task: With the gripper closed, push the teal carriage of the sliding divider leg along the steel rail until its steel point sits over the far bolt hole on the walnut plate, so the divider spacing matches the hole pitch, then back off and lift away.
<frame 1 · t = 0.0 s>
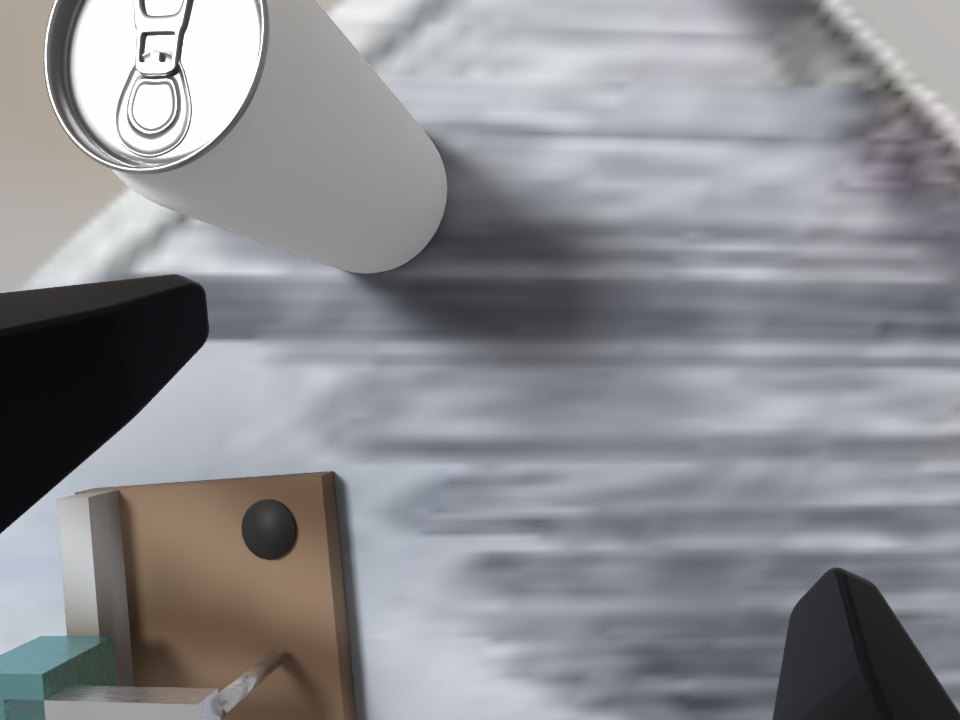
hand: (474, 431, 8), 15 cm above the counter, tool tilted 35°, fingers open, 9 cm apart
divider leg: (130, 686, 22), point 4 cm above the counter, slide at 4.0 cm
can: (376, 198, 25), on the counter
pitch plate: (220, 630, 26), on the counter
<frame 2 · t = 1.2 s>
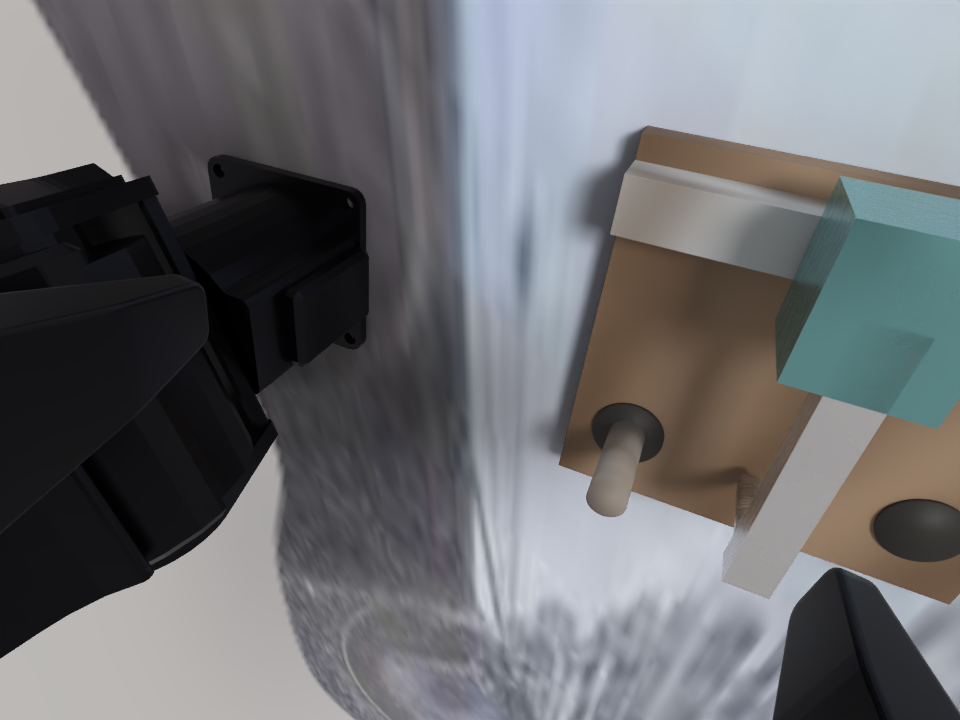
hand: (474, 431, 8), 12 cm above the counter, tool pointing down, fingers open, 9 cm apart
divider leg: (816, 403, 15), point 4 cm above the counter, slide at 4.0 cm
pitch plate: (808, 374, 18), on the counter
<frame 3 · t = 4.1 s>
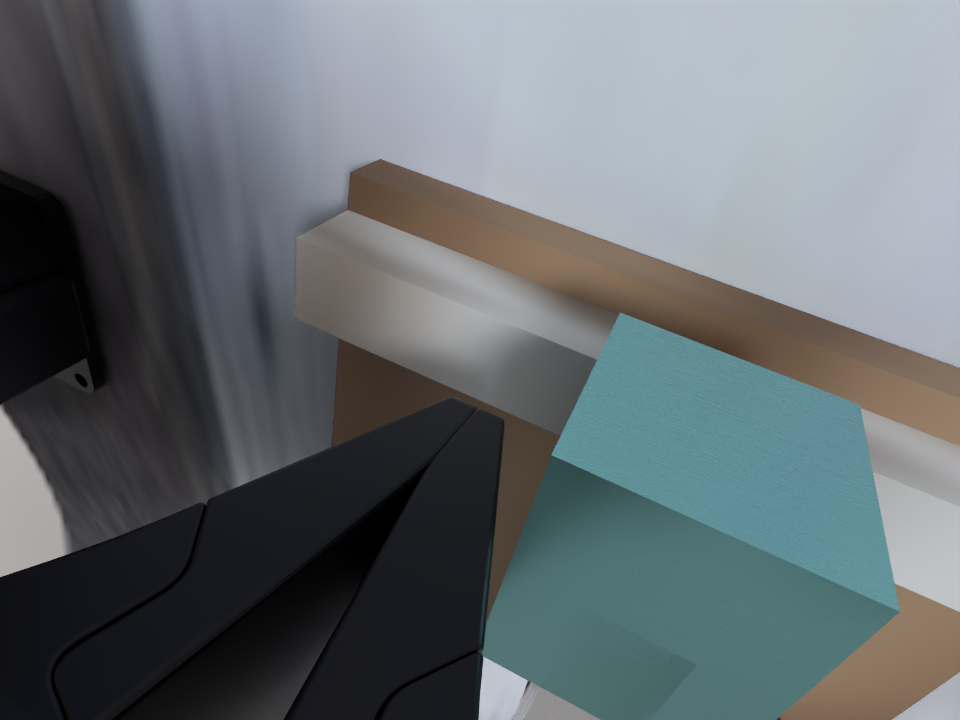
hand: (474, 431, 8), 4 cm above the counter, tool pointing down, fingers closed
divider leg: (592, 626, 10), point 4 cm above the counter, slide at 4.8 cm, touching gripper
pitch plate: (605, 512, 13), on the counter
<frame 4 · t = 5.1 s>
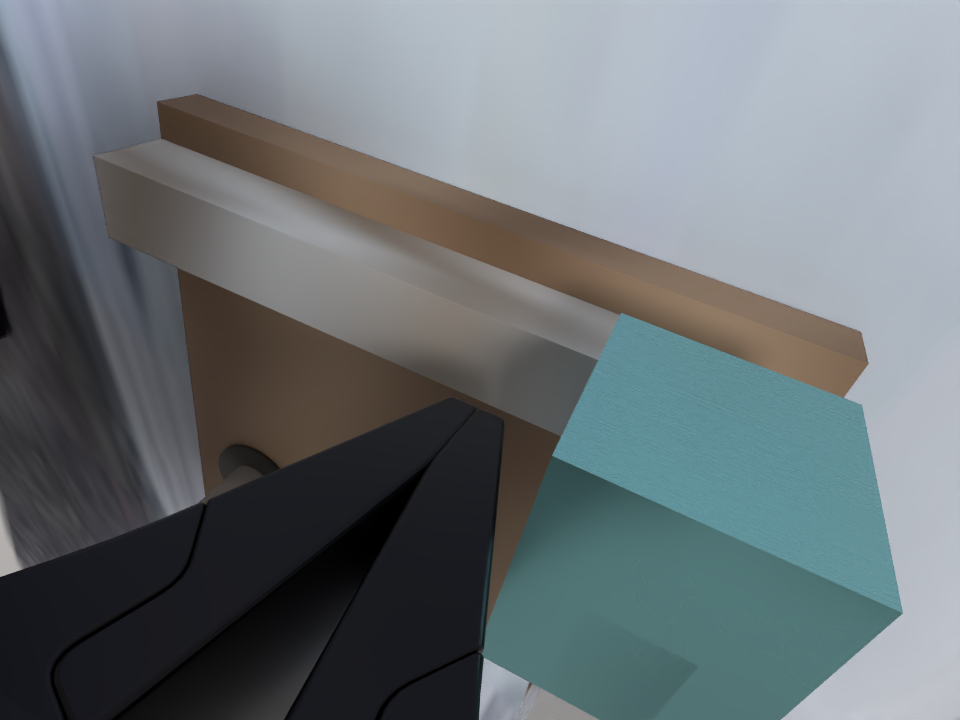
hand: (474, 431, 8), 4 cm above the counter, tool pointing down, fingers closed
divider leg: (594, 627, 10), point 4 cm above the counter, slide at 9.1 cm, touching gripper
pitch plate: (436, 434, 14), on the counter
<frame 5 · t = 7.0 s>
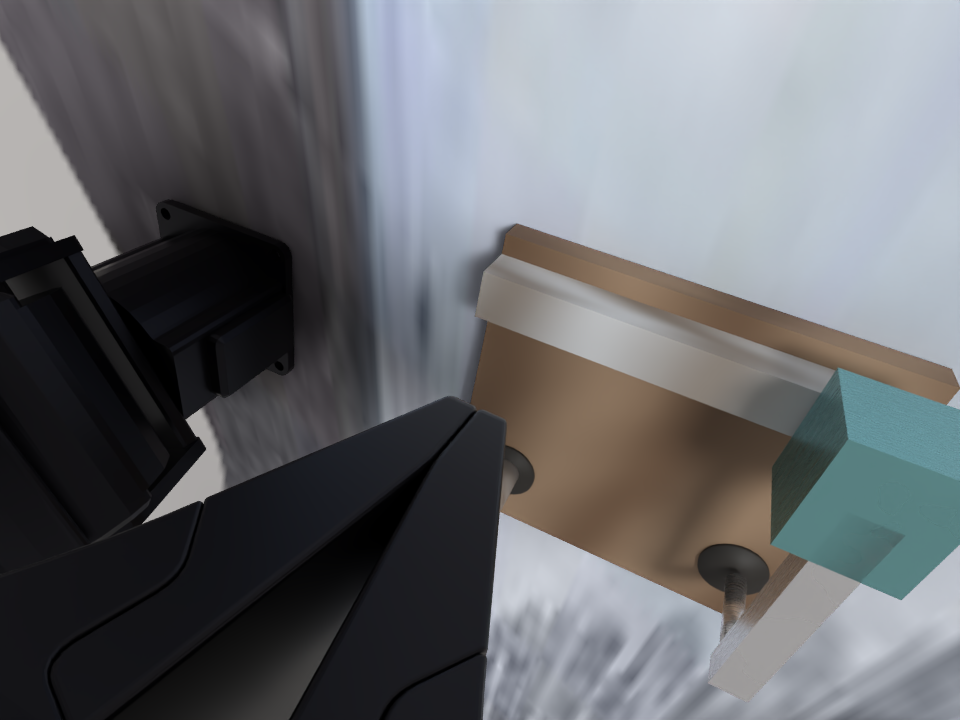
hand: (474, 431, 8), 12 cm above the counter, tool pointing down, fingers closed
divider leg: (802, 543, 17), point 4 cm above the counter, slide at 9.2 cm
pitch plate: (649, 434, 21), on the counter
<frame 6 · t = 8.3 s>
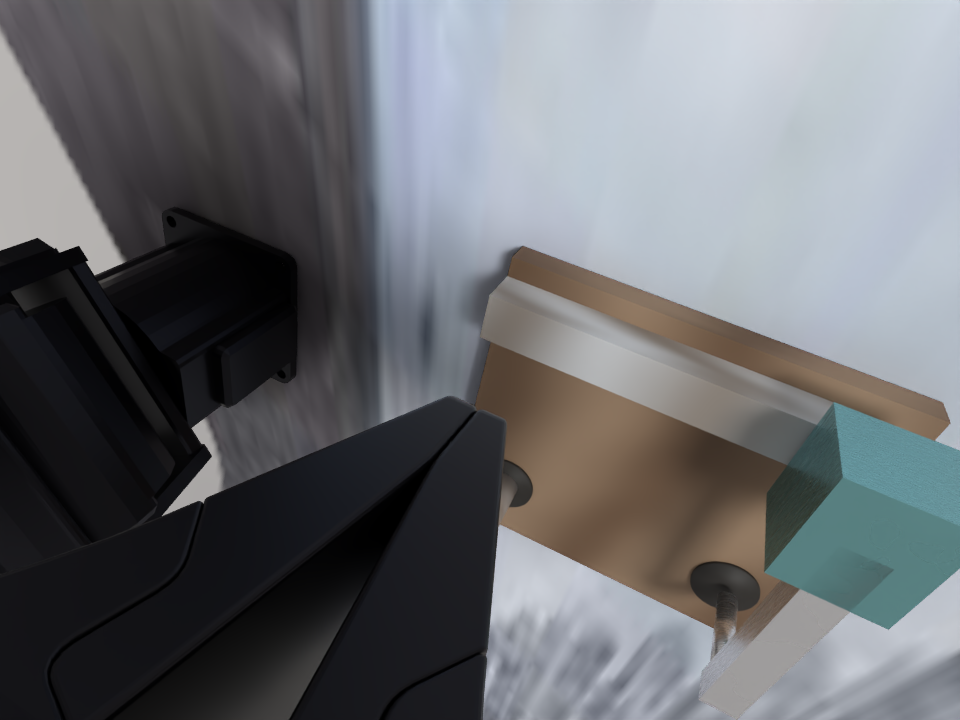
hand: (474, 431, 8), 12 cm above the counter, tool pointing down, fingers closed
divider leg: (793, 568, 17), point 4 cm above the counter, slide at 9.2 cm
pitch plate: (646, 453, 22), on the counter
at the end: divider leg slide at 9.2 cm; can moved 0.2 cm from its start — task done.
